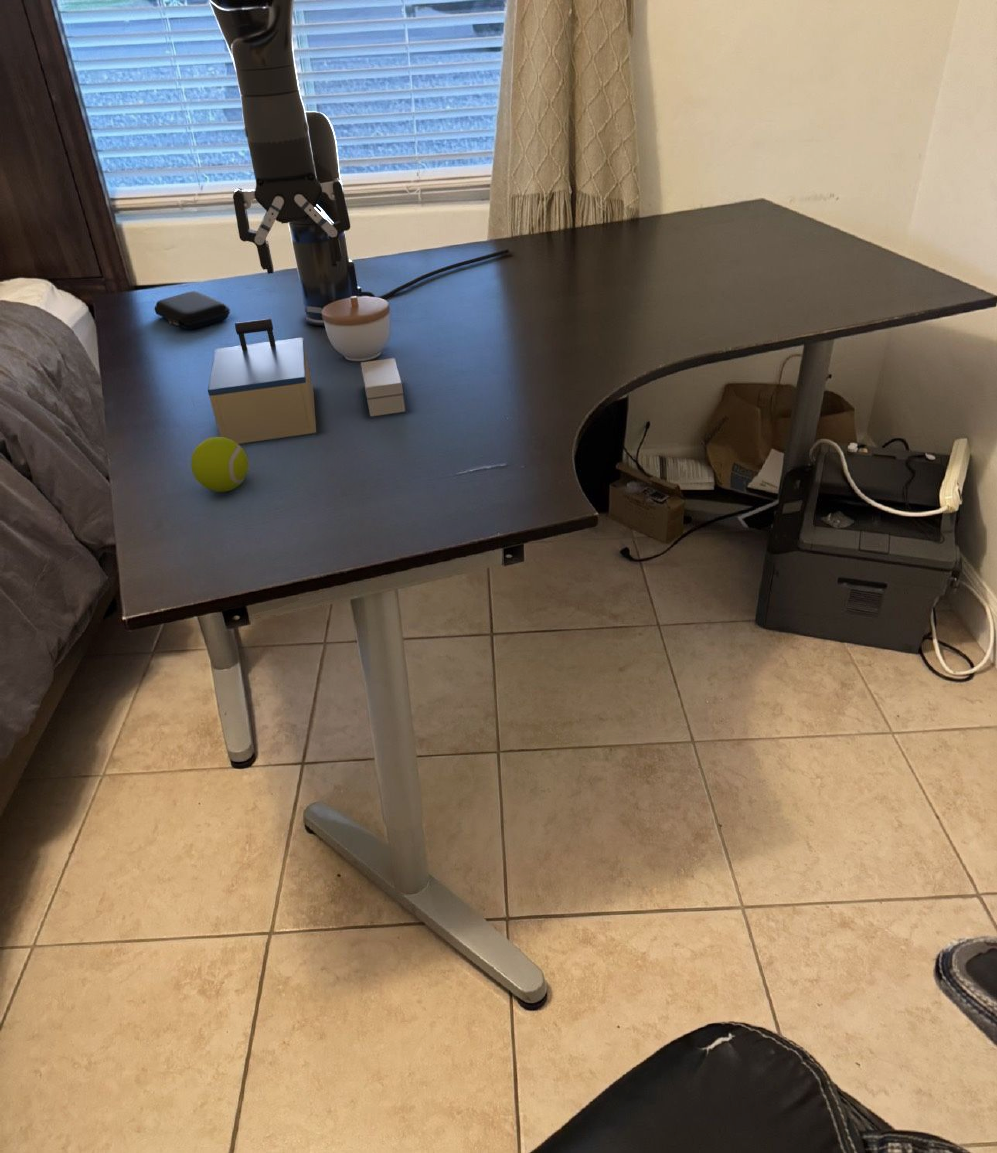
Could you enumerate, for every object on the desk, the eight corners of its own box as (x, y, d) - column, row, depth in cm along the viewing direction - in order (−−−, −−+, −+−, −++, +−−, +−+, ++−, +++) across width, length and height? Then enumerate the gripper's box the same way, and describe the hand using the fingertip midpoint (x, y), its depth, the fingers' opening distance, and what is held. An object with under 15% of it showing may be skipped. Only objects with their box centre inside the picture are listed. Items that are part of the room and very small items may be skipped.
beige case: (364, 390, 130) (360, 362, 127) (398, 385, 130) (394, 357, 128) (369, 417, 122) (365, 387, 119) (405, 411, 123) (401, 382, 120)
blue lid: (216, 353, 125) (208, 322, 123) (304, 342, 127) (297, 310, 124) (208, 395, 113) (199, 361, 110) (306, 382, 115) (299, 348, 112)
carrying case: (147, 318, 163) (182, 335, 154) (142, 302, 162) (177, 319, 152) (199, 303, 169) (236, 319, 160) (195, 287, 167) (232, 302, 158)
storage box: (228, 402, 129) (216, 355, 125) (313, 391, 131) (304, 344, 126) (222, 446, 117) (209, 396, 113) (316, 432, 119) (306, 383, 115)
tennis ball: (217, 472, 111) (204, 425, 107) (263, 477, 109) (251, 429, 105) (188, 499, 106) (172, 450, 102) (236, 504, 104) (222, 455, 100)
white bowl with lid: (342, 372, 136) (331, 313, 130) (321, 351, 144) (310, 295, 138) (405, 356, 139) (397, 298, 134) (381, 337, 147) (373, 281, 142)
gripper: (335, 124, 110) (355, 255, 120) (221, 135, 109) (250, 266, 118) (336, 133, 104) (357, 270, 114) (215, 144, 103) (247, 282, 112)
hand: (302, 268), depth 116 cm, fingers open, 8 cm apart
